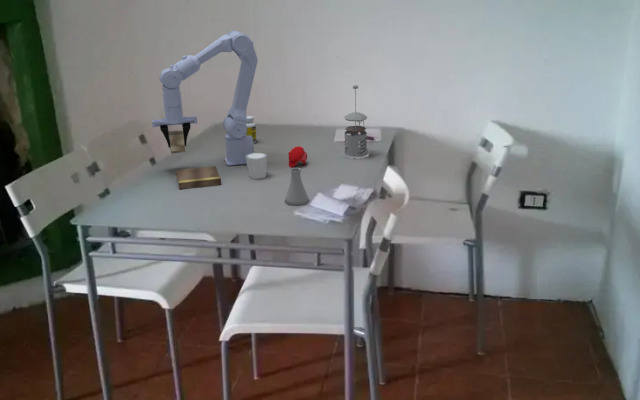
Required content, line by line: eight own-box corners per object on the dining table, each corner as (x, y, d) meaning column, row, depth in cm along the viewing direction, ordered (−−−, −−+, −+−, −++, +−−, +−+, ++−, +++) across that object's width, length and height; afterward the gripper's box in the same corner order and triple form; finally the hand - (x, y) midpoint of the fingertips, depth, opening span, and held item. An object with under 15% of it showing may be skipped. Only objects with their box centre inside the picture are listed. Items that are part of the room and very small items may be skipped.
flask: (284, 197, 200) (282, 166, 196) (308, 196, 200) (307, 164, 197) (285, 206, 193) (283, 174, 190) (310, 205, 194) (309, 172, 190)
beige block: (183, 146, 227) (182, 129, 225) (185, 152, 222) (183, 134, 219) (170, 148, 226) (168, 131, 224) (171, 153, 221) (169, 135, 218)
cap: (294, 150, 233) (284, 145, 228) (308, 147, 229) (298, 142, 225) (294, 172, 230) (284, 167, 226) (308, 169, 227) (298, 164, 222)
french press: (337, 157, 235) (336, 87, 225) (349, 148, 244) (348, 80, 235) (364, 160, 231) (364, 88, 222) (374, 150, 241) (375, 81, 232)
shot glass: (271, 173, 220) (270, 153, 218) (263, 180, 214) (261, 159, 212) (252, 171, 223) (251, 151, 220) (243, 178, 217) (242, 157, 214)
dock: (216, 171, 223) (215, 165, 222) (221, 184, 212) (220, 178, 211) (176, 176, 220) (175, 169, 219) (179, 189, 208) (178, 182, 208)
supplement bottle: (254, 144, 252) (252, 119, 248) (240, 144, 253) (238, 118, 249) (258, 140, 256) (256, 115, 253) (244, 140, 258) (243, 115, 254)
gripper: (150, 110, 213) (155, 151, 218) (196, 106, 216) (200, 147, 221) (149, 105, 219) (154, 145, 224) (194, 102, 223) (198, 141, 228)
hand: (177, 146), depth 223 cm, fingers closed on beige block, 4 cm apart
